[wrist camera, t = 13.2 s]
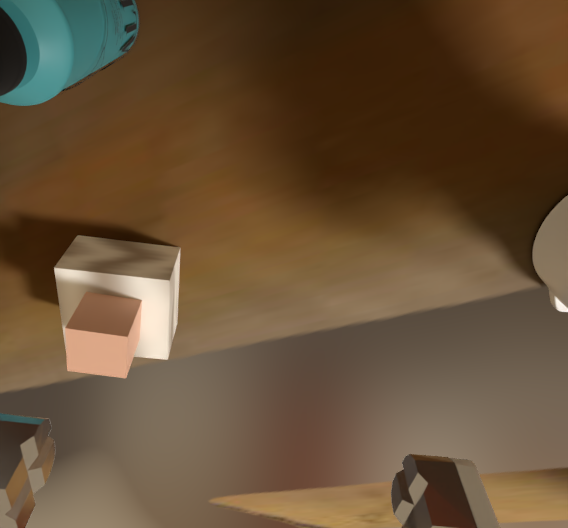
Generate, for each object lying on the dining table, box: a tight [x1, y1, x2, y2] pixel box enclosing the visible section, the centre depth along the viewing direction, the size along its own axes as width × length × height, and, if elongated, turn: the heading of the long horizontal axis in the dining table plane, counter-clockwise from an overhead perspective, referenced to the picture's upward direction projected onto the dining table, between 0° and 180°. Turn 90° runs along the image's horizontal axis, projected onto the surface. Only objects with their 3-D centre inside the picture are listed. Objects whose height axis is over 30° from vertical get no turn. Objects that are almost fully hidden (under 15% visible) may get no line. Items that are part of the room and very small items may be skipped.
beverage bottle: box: [0, 0, 140, 106], centre depth 25 cm, size 6×7×20 cm
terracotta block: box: [65, 292, 142, 378], centre depth 40 cm, size 5×5×5 cm
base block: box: [54, 235, 180, 360], centre depth 45 cm, size 10×10×6 cm
